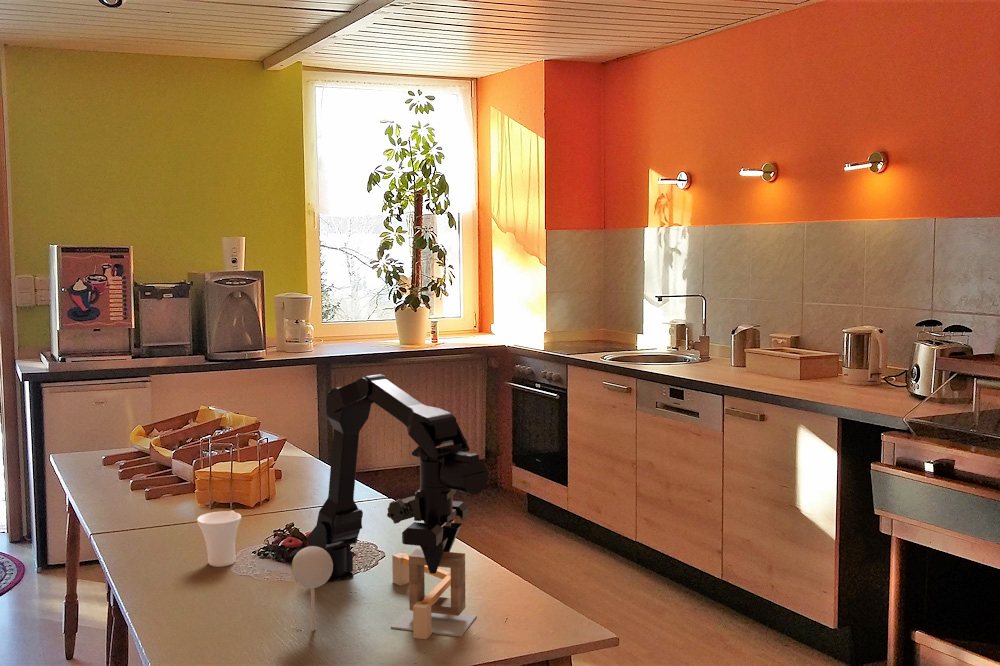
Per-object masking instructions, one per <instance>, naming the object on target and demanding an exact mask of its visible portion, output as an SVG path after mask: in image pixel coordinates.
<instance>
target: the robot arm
mask: <svg viewBox="0 0 1000 666" xmlns="http://www.w3.org/2000/svg"><path fill="white" fill-rule="evenodd" d="M373 404H376V405H377V406H378V407H380V408H381V409H382V410H384V411H385V412H386V413H388V414H389V415H391V416H392V417H393V418H394V419H396V420H397V421H399V422H401V424H403V425H404V426H405V427H406V429H407V434H408V436H409V437H410V439H412V440H413V441H414V442H415V444H416V445H417V447H416V448H415V449H414V450H413V451H412V452H411V455H412V456H413V457H416V458H419V486H420V487H419V489H418V490H417V491H415V493H414V495H412V496H409V497H405V498H402V499H400V498H399V499H397V500H392V501H391V502H390V503H389V504H388V508H386V509H387V514H386V515H387V518H390V519H391V521H392V522H393V525H394V524H395V525H396V524H399V523H401V522H402V521H406V520H409V519H412V518H413V520H414V521H415V522H412V523H411V524H410V525H408V526H407V527H406V528H405V529H404V530H403V531H402V532H401V535H402V536H401V543H402V544H403V545H407V546H416V547H417V546H418V547H420V548H421V549H422V551H423V554H424V557H425V560H426V563H427V566H428V569H429V572H430V573H431V574H435V573H436V572H437V569H438V568H439V567H438V566H439V563H440V560H441V557H442V554H443V551H444V552H451V549H452V547H453V545H454V543H455V541H456V539H457V536H458V534H459V531H460V529H461V527H463V526H462V525H463V524H462V523H461V522H459V523H458V522H455V519H454V517H459V519H460V521H465V520H466V519H468V518H469V506H468V504H466V502H464V501H459V500H454V499H453V498H454V495H455V494H456V493H457V492H461V493H465V494H468V495H471V496H473V495H474V496H475V495H479V494H480V493H482V492H483V490H484V489H485V487H486V485H487V482H488V479H489V471H488V470H487V468H486V465H485V464H484V463H483V462H482V461H480V454H478V453H474V452H472V453H468V452H470V450H471V449H470V446H469V444H468V441H467V439H466V437H465V436H464V434H463V432H462V430H461V428H460V426H459V423H458V421H457V418H456V416H455V415H454V414H453V413H451V412H450V411H447V410H444V409H442V408H439V407H436V406H430V405H426V404H423V403H422V402H420V401H419V400H417V399H416V398H414V397H413V396H411V395H410V394H409V393H408V392H406V391H404V390H403V389H401V388H400V387H398V386H397V385H395V384H394V383H392V382H391V381H390V380H389V379H388V377H387V376H386V375H385V374H381V373H378V374H372V375H366V376H365V375H364V376H362V377H360V378H359V379H357V380H355V381H352V382H351V383H349V384H346V385H343V386H337V387H333V388H332V389H330V391H328V392H327V395H326V400H325V405H326V418H327V420H328V421H329V423H330V425H331V427H332V428H333V432H332V447H331V458H330V470H329V472H330V473H329V485H328V494H327V495H328V496H327V499H326V500H325V501H324V503H323V505H322V506H321V508H320V509H319V511H318V515H317V520H316V525H315V527H314V528H313V529H312V530H311V531H310V533H309V534H308V536H307V537H306V540H307V545H308V547H309V546H317V547H320V548H322V549H324V550H326V551H327V552H328V554H329V555H330V557H331V559H332V562H333V571H332V574H331V576H330V578H329V579H328V581H327V582H326V583H328V582H335V581H339V580H344V579H351V578H354V573H353V571H354V559H353V551H352V550H351V545H354V544H357V542H358V538H359V534H360V531H361V529H363V523H362V522H363V515H364V512H363V510H362V509H360V508H358V507H359V506H357V504H356V502H355V498H354V497H355V496H354V495H355V485H356V475H357V463H358V452H359V450H358V449H359V439H360V433H361V432H360V431H361V430H362V428H363V427H364V425H365V424H366V422H367V421H368V419H369V417H370V412H371V407H372V405H373ZM421 521H423V522H421Z"/></svg>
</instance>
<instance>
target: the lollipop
mask: <svg viewBox="0 0 1000 666" xmlns="http://www.w3.org/2000/svg"><path fill="white" fill-rule="evenodd" d="M290 569H291V575H292V577H293V580H294V581H295V582H296V583H297V585H299V586H301V587H302V588H306V589H310V607H311V608H310V611H311V613H310V615H311V616H310V617H311V631H312V632H315V631H316V598H315V597H316V594H315V592H316V591H315V589H316V588H319V587H321V586H323V585H325V584H326V583H328V582H327V581H328V579H329V578H330V576H331V574H332V571H333V562H332V559H331V557H330V555H329V554H328V552H327V551H326V550H324V549H322V548H320V547H317V546H309V545H308V546H306V547H303V548H301V549H300V550H299V551H297V552H296V554H295V555H294V557H293V559H292V561H291V567H290ZM314 630H315V631H314Z"/></svg>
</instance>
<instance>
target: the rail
mask: <svg viewBox="0 0 1000 666" xmlns="http://www.w3.org/2000/svg"><path fill="white" fill-rule="evenodd" d="M410 555H411V554H407V553H404V552H398V553H396V554H395V553H394V554H392V557H391V558H392V583H393V584H395V585H397V586H400V587H401V586H404V585H407V584H409V556H410ZM425 573H426V574H428V575H430V576H433V577H435V578H438V579H440V580H441V581H440V582H439V583H438V584H437V585H436V586H435V587H434V588H433V589H432V590H431V591H430V592H429V593H428V595H425V596H426V597H425V598H424V600H423V601H422V602H420V601H418V602H417V603H416V604H415V605H414V606H413V631H412V633H413V634H412V635H413V639H418V640H420V639H421V640H428V639H429V638H430V636H431V635H432V633H431V605H432V604H433V603H434V602H435V601H436V600H437V599H438V598H439V597H442V595H443V594H444V592H445V591H447V590H448V588H449V587H451V572H449V571H446V570H444V569H441V568H440V567H438V569H437V572H436V573H435V574H431V573H430V572H429V569H428V566H427V565H424V574H425Z"/></svg>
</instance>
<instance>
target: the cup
mask: <svg viewBox="0 0 1000 666" xmlns="http://www.w3.org/2000/svg"><path fill="white" fill-rule="evenodd" d="M241 520H242V515H241V514H240V513H238V512H235V511H234V510H233V509H231V510H229V511H227V510H226V511H225V510H223V511H222V510H221V511H213V512H207V513H204V514H200V516H198V517H197V521H196V522H197V525H198V526H199V528H200V530H201V532H202V535H203V539H204V540H205V545H206V552H207V562H208V564H209V565H210V566H211V567H218V568H219V567H220V568H221V567H227V566H231V565H233V564H234V563H235V562H236V536H237V532H238V527H239V524H240V522H241Z"/></svg>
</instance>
